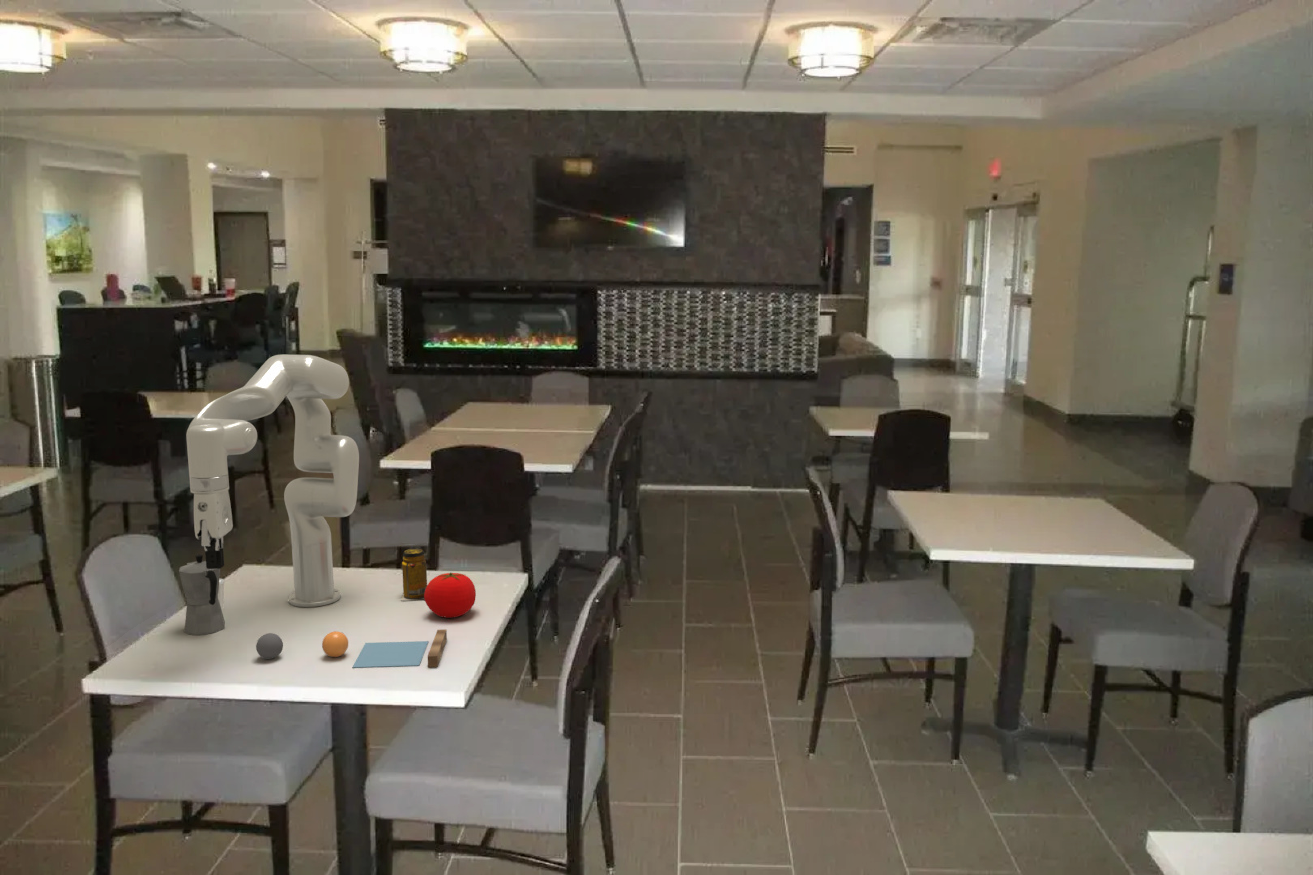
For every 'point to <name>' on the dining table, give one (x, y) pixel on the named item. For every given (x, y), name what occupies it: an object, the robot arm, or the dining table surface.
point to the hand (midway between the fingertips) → (215, 567)
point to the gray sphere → (269, 646)
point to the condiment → (414, 575)
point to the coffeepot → (201, 598)
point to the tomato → (450, 595)
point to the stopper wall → (437, 648)
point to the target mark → (391, 654)
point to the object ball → (335, 644)
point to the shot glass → (221, 592)
